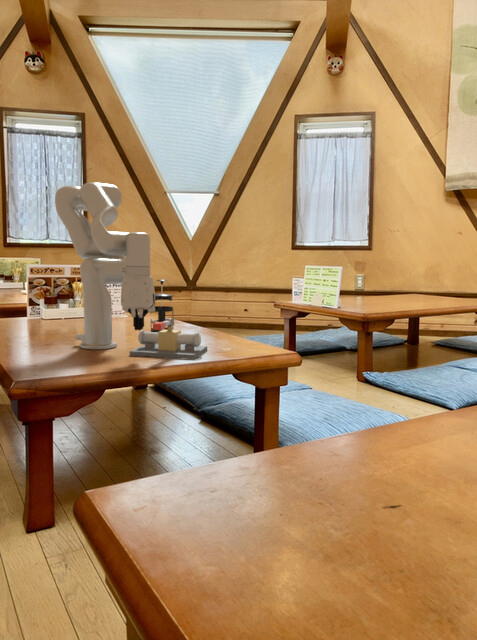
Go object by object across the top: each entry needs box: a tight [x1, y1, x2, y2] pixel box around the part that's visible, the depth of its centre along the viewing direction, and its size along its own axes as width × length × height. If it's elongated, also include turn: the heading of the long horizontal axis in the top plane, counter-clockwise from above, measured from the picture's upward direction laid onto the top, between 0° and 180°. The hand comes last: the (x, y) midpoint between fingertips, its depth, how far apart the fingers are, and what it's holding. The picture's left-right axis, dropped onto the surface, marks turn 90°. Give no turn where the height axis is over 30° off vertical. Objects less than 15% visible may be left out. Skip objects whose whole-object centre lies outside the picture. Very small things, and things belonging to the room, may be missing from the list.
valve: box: [129, 326, 208, 360], centre depth 177 cm, size 22×16×9 cm
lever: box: [152, 317, 175, 330], centre depth 172 cm, size 14×3×2 cm, turn 168°
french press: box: [150, 279, 174, 333], centre depth 209 cm, size 12×9×23 cm
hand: (138, 329), depth 168 cm, fingers closed
